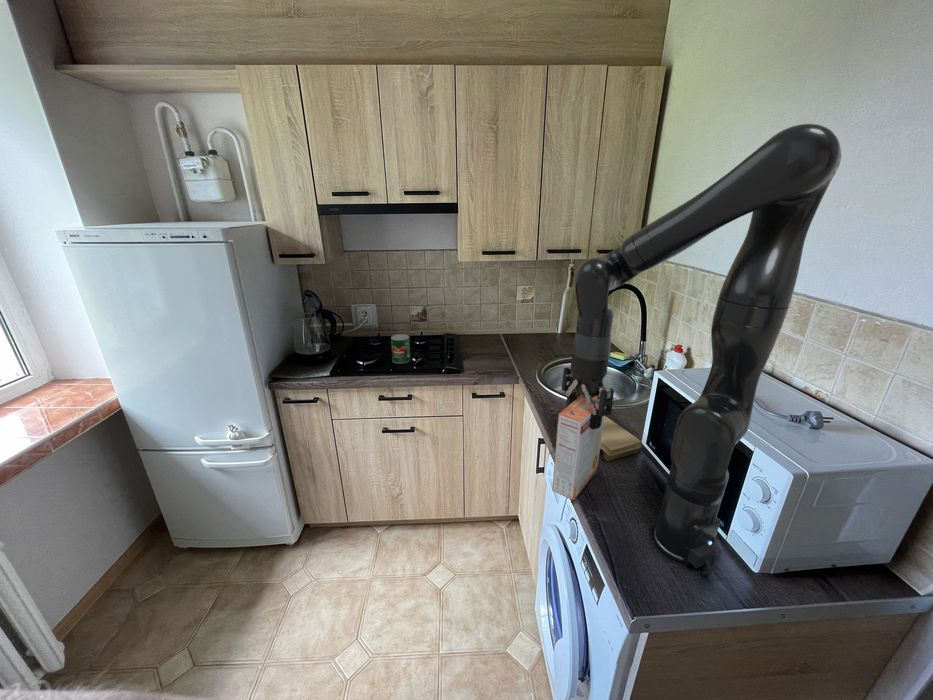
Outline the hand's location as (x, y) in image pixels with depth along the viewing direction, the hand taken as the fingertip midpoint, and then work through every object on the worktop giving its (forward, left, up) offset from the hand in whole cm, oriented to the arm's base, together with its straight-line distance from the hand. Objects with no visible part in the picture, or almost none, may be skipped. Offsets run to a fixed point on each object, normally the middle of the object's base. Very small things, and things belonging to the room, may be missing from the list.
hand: (582, 418), depth 87 cm
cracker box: (0, 0, -17) cm, 17 cm away
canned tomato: (+96, +20, -20) cm, 100 cm away
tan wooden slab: (+13, -21, -20) cm, 32 cm away
